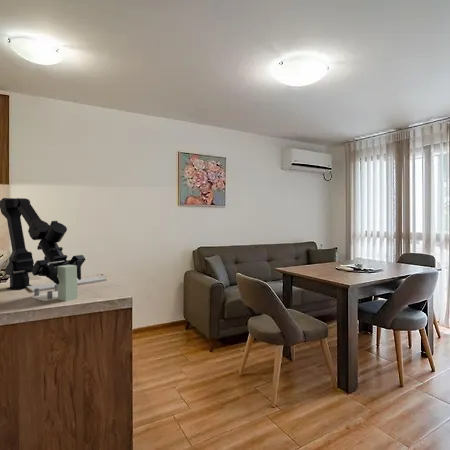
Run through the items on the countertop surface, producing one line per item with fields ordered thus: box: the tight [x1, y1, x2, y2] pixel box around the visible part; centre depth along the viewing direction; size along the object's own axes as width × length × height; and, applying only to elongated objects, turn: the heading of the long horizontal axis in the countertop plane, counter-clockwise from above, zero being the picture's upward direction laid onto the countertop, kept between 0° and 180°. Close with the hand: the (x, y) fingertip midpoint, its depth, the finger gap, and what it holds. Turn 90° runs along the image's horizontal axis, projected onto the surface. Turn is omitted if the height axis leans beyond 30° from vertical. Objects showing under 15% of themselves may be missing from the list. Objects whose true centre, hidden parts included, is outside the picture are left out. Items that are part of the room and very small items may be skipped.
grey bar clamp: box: [25, 273, 108, 293], centre depth 139 cm, size 31×3×12 cm
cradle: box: [30, 284, 58, 302], centre depth 119 cm, size 10×12×3 cm
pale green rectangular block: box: [57, 265, 78, 302], centre depth 115 cm, size 5×4×12 cm
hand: (69, 281), depth 114 cm, fingers open, 8 cm apart
